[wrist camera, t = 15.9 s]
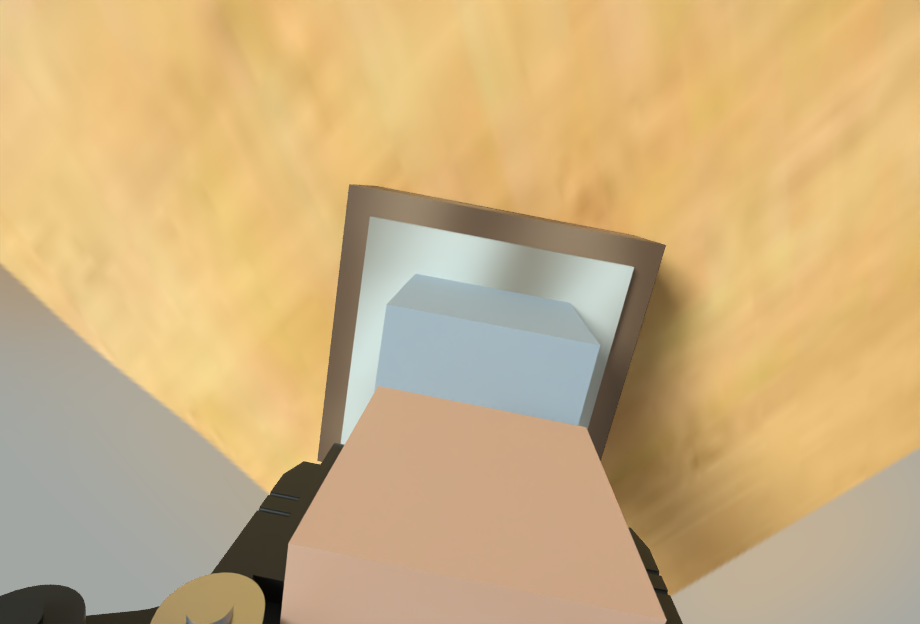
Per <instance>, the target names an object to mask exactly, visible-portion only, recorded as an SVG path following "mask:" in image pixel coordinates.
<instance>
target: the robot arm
mask: <svg viewBox="0 0 920 624" xmlns="http://www.w3.org/2000/svg"><path fill="white" fill-rule="evenodd" d="M343 447H344V444H339V443H334V444H333V445H332V447H331V449H330V450H329V452H328V453H327V455H326V457H325V458H324V460H323V462H322V463H321V465H319V464H314V463H309V462H302V463H301V464H299V465H297V466H296V467H294V468H293V469H291V470H289V471H288V472H286V473H285V474H283V476H282V477H281V478H280V480H279V481H278V482H277V484H276V485H275V487H274V488H273V489H272V491H271V493H270V495H268V496H267V498H266V499H265V500H264V502H263V503H262V505H261V506H260V508H259V511H257V512H256V513H255V514H254V516H253V517H252V518H251V520H250V521H249V522H248V524H247V525H246V527H245V528H244V529H243V531H242V532H241V534H240V535H239V536H238V538H237V539H236V540H235V542H234V543H233V545H232V546H231V547H230V549H229V550H228V552H227V553H226V554H225V555H224V557H223V558H222V560H221V561H220V562H219V564H218V565H217V566H216V568H215V569H214V571H213V572H212V573H211V574H210V575H205V576H202V577H199V578H197V579H194V580H192V581H190V582H188V583H186V584H185V585H183V586H182V587H180V588H178V589H177V590H176V591H174V592H173V593H172V594H170V595H169V596H168V597H167V598H166V599H165V600H164V601H163V603H162V604H161V605H160V606H159V607H155V608H151V609H146V610H140V611H130V612H120V613H110V614H100V615H90V616H86V610H85V603H84V600H83V598H82V596H81V595H80V594H79V593H78V592H76V591H75V590H73V589H71V588H69V587H65V586H61V585H38V586H32V587H27V588H24V589H20V590H16V591H13V592H10V593H8V594H5V595H2V596H0V624H280V619H281V609H282V600H283V590H284V581H285V571H286V562H287V552H288V543H289V541H290V540H291V538H292V536H293V534H294V533H295V531H296V529H297V527H298V526H299V524H300V522H301V520H302V519H303V517H304V515H305V513H306V512H307V510H308V508H309V506H310V505H311V503H312V501H313V499H314V498H315V496H316V494H317V492H318V491H319V489H320V487H321V485H322V484H323V482H324V480H325V478H326V477H327V475H328V473H329V471H330V469H331V468H332V466H333V464H334V462H335V461H336V459H337V457H338V455H339V454H340V452H341V450H342V448H343ZM628 529H629V531H630V533H631V536H632V538H633V541H634V543H635V545H636V548H637V550H638V553H639V555H640V557H641V560H642V562H643V565H644V567H645V569H646V572H647V574H648V577H649V579H650V581H651V584H652V586H653V589H654V591H655V593H656V596H657V598H658V601H659V603H660V605H661V608H662V610H663V613H664V615H665V617H666V620H667V621H666V623H665V624H683V623H682V621H681V619H680V617H679V615H678V612H677V610H676V608H675V605H674V603H673V601H672V599H671V597H670V595H668V593H667V592H668V590H667V588H666V585H665V583H664V581H663V579H662V577H661V576H659V570H658V568H657V565H656V563H655V561H654V559H653V557H652V554H651V552H650V550H649V548H648V547H647V546H646V545H645V544H644V543H643V541H642V540H641V539H640V538H639V537H638V536H637V535H636V533H635V532H634V531H633V530H632V529H631V528H628Z"/></svg>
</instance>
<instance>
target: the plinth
mask: <svg viewBox="0 0 920 624" xmlns="http://www.w3.org/2000/svg"><path fill="white" fill-rule="evenodd" d="M665 247H666V245H664V244H660V243H657V242H654V241H650V240H647V239H644V238H640V237H637V236H634V235H629V234H624V233H618V232H613V231H608V230H603V229H597V228H592V227H587V226H582V225H577V224H571V223H566V222H561V221H556V220H550V219H545V218H540V217H535V216H530V215H524V214H519V213H514V212H509V211H504V210H498V209H493V208H488V207H483V206H477V205H472V204H467V203H462V202H457V201H451V200H446V199H441V198H436V197H430V196H425V195H420V194H415V193H410V192H404V191H399V190H394V189H389V188H383V187H378V186H368V185H351V184H349V192H348V200H347V209H346V218H345V226H344V235H343V244H342V252H341V261H340V270H339V278H338V287H337V296H336V304H335V313H334V322H333V330H332V339H331V348H330V356H329V365H328V374H327V382H326V391H325V400H324V408H323V417H322V426H321V435H320V443H319V452H318V461H321V462H323V460H324V458H325V457H326V455H327V453H328V452H329V450H330V449H331V447H332V445H333V444H334V443H339V444H344V445H345V443H346V441H347V440H348V438H349V436H350V434H351V433H352V431H353V429H354V427H355V426H356V424H357V422H358V420H359V419H360V417H361V415H362V413H363V412H364V410H365V408H366V406H367V405H368V403H369V401H370V399H371V398H372V396H373V394H374V390H375V383H376V375H377V368H378V361H379V354H380V347H381V340H382V333H383V326H384V319H385V312H386V305H387V303H388V302H389V301H390V300H391V299H392V298H393V297H394V296H395V295H396V294H397V293H398V292H399V291H400V289H401V288H402V287H403V286H404V285H405V284H406V283H407V282H408V281H409V280H410V279H411V278H412V277H413V276H414V275H415V274H421V275H426V276H431V277H437V278H442V279H447V280H452V281H458V282H463V283H468V284H473V285H479V286H484V287H489V288H494V289H500V290H505V291H510V292H515V293H521V294H526V295H531V296H536V297H542V298H547V299H552V300H557V301H563V302H568V303H570V304H571V305H572V307H573V308H574V309H575V311H576V312H577V314H578V315H579V316H580V318H581V319H582V321H583V322H584V323H585V325H586V326H587V328H588V329H589V330H590V332H591V333H592V335H593V336H594V337H595V339H596V340H597V341H598V343H599V344H600V348H599V352H598V355H597V359H596V363H595V366H594V370H593V373H592V377H591V381H590V384H589V388H588V391H587V395H586V399H585V402H584V406H583V410H582V413H581V417H580V420H579V424H578V426H582V427H586V428H587V430H588V433H589V435H590V438H591V440H592V442H593V445H594V447H595V450H596V452H597V454H598V457H599V459H600V461H601V458H602V454H603V451H604V448H605V444H606V441H607V438H608V435H609V431H610V428H611V425H612V421H613V418H614V415H615V411H616V408H617V405H618V402H619V398H620V395H621V392H622V388H623V385H624V382H625V378H626V375H627V372H628V369H629V365H630V362H631V359H632V355H633V352H634V349H635V346H636V342H637V339H638V336H639V332H640V329H641V326H642V322H643V319H644V316H645V313H646V309H647V306H648V303H649V299H650V296H651V293H652V289H653V286H654V283H655V280H656V276H657V273H658V270H659V266H660V263H661V260H662V256H663V253H664V250H665Z"/></svg>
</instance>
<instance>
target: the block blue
mask: <svg viewBox="0 0 920 624" xmlns="http://www.w3.org/2000/svg"><path fill="white" fill-rule="evenodd" d="M599 348H600V344H599V343H598V341H597V340H596V339H595V337H594V336H593V335H592V333H591V332H590V330H589V329H588V328H587V326H586V325H585V323H584V322H583V321H582V319H581V318H580V316H579V315H578V314H577V312H576V311H575V309H574V308H573V307H572V305H571V304H570V303H568V302H563V301H557V300H552V299H547V298H542V297H536V296H531V295H526V294H521V293H515V292H510V291H505V290H500V289H494V288H489V287H484V286H479V285H473V284H468V283H463V282H458V281H452V280H447V279H442V278H437V277H431V276H426V275H421V274H415V275H414V276H413V277H412V278H411V279H410V280H409V281H408V282H407V283H406V284H405V285H404V286H403V287H402V288H401V289H400V291H399V292H398V293H397V294H396V295H395V296H394V297H393V298H392V299H391V300H390V301H389V302H388V303H387V305H386V312H385V319H384V326H383V333H382V340H381V347H380V354H379V361H378V368H377V375H376V383H375V390H376V389H377V387H378V386H381V387H386V388H391V389H396V390H401V391H406V392H411V393H416V394H421V395H426V396H431V397H436V398H441V399H446V400H451V401H456V402H461V403H466V404H472V405H477V406H482V407H487V408H492V409H497V410H502V411H507V412H512V413H517V414H522V415H527V416H532V417H537V418H542V419H547V420H552V421H557V422H562V423H567V424H572V425H577V426H578V424H579V420H580V417H581V413H582V410H583V406H584V402H585V399H586V395H587V391H588V388H589V384H590V381H591V377H592V373H593V370H594V366H595V363H596V359H597V355H598V352H599ZM375 390H374V392H375Z"/></svg>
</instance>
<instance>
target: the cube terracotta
mask: <svg viewBox="0 0 920 624" xmlns="http://www.w3.org/2000/svg"><path fill="white" fill-rule="evenodd" d="M666 621H667V620H666V617H665V615H664V613H663V610H662V608H661V605H660V603H659V601H658V598H657V596H656V593H655V591H654V589H653V586H652V584H651V581H650V579H649V577H648V574H647V572H646V569H645V567H644V565H643V562H642V560H641V557H640V555H639V553H638V550H637V548H636V545H635V543H634V541H633V538H632V536H631V533H630V531H629V529H628V526H627V524H626V522H625V519H624V517H623V514H622V512H621V510H620V507H619V505H618V502H617V500H616V498H615V495H614V493H613V490H612V488H611V486H610V483H609V481H608V478H607V476H606V474H605V471H604V469H603V466H602V464H601V462H600V459H599V457H598V454H597V452H596V450H595V447H594V445H593V442H592V440H591V438H590V435H589V433H588V430H587V428H586V427H582V426H577V425H572V424H567V423H562V422H557V421H552V420H547V419H542V418H537V417H532V416H527V415H522V414H517V413H512V412H507V411H502V410H497V409H492V408H487V407H482V406H477V405H472V404H466V403H461V402H456V401H451V400H446V399H441V398H436V397H431V396H426V395H421V394H416V393H411V392H406V391H401V390H396V389H391V388H386V387H381V386H378V387H377V389H376V390H375V392H374V394H373V396H372V398H371V399H370V401H369V403H368V405H367V406H366V408H365V410H364V412H363V413H362V415H361V417H360V419H359V420H358V422H357V424H356V426H355V427H354V429H353V431H352V433H351V434H350V436H349V438H348V440H347V441H346V443H345V445H344V447H343V448H342V450H341V452H340V454H339V455H338V457H337V459H336V461H335V462H334V464H333V466H332V468H331V469H330V471H329V473H328V475H327V477H326V478H325V480H324V482H323V484H322V485H321V487H320V489H319V491H318V492H317V494H316V496H315V498H314V499H313V501H312V503H311V505H310V506H309V508H308V510H307V512H306V513H305V515H304V517H303V519H302V520H301V522H300V524H299V526H298V527H297V529H296V531H295V533H294V534H293V536H292V538H291V540H290V541H289V543H288V552H287V562H286V571H285V581H284V590H283V600H282V609H281V619H280V624H665V623H666Z"/></svg>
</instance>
